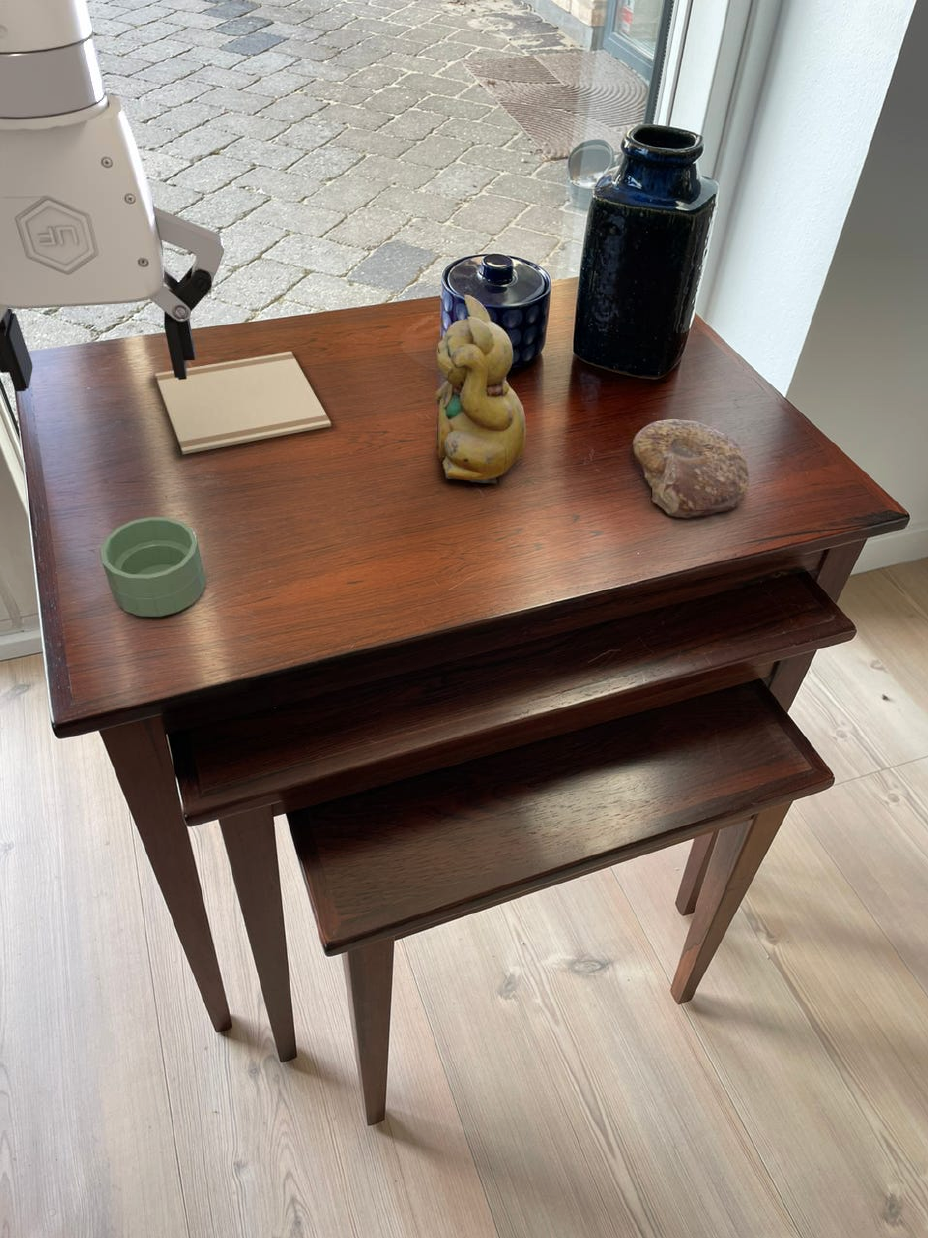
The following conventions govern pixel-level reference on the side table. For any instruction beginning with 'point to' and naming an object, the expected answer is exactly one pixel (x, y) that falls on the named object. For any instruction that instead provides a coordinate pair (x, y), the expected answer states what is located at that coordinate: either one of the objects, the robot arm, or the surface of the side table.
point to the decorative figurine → (477, 400)
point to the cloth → (240, 402)
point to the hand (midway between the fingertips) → (104, 374)
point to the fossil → (691, 467)
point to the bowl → (153, 566)
